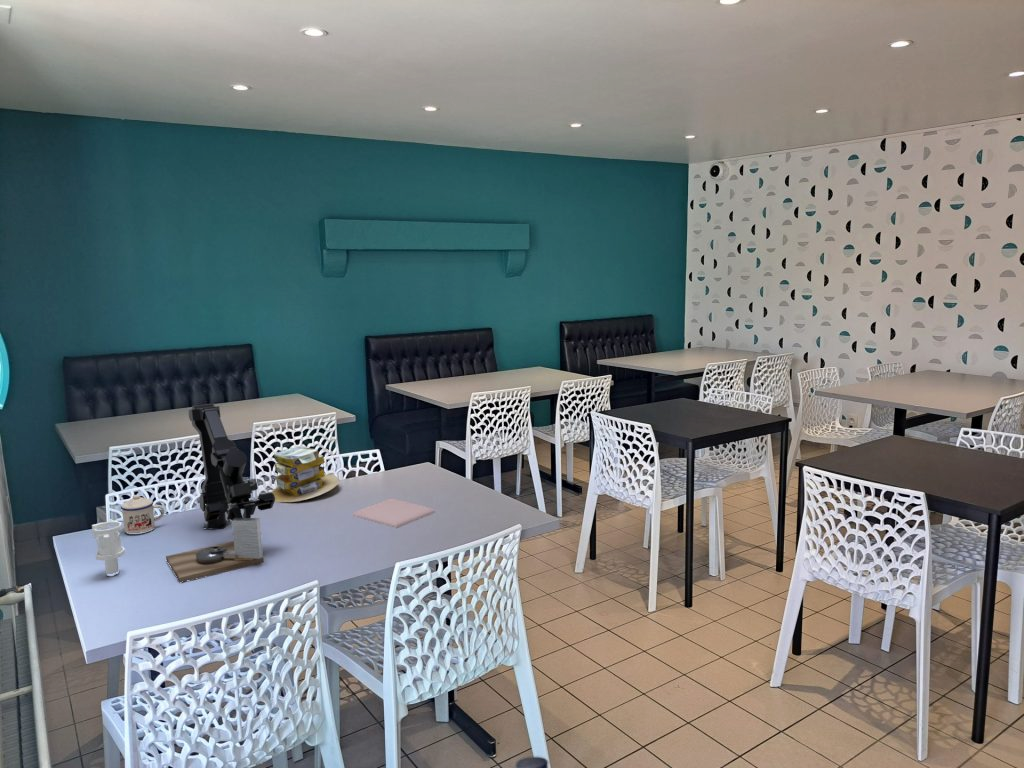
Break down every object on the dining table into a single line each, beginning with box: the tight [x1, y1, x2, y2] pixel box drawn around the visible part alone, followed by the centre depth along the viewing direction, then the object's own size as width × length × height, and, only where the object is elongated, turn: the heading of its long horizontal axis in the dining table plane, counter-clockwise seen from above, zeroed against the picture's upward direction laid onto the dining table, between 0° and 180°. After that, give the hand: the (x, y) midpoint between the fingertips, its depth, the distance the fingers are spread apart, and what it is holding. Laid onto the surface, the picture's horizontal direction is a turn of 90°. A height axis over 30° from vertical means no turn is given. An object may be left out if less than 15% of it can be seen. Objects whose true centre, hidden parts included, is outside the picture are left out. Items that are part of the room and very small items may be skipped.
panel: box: [352, 497, 436, 529], centre depth 240 cm, size 35×33×2 cm
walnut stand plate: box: [165, 540, 265, 583], centre depth 208 cm, size 18×22×2 cm
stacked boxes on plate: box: [270, 445, 340, 503], centre depth 268 cm, size 25×25×17 cm
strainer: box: [91, 520, 126, 574], centre depth 200 cm, size 7×7×15 cm
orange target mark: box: [234, 558, 254, 560], centre depth 206 cm, size 5×1×1 cm, turn 87°
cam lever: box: [196, 517, 264, 563], centre depth 205 cm, size 18×8×11 cm, turn 86°
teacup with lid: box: [120, 494, 165, 533], centre depth 233 cm, size 12×9×12 cm
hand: (247, 532), depth 206 cm, fingers closed
